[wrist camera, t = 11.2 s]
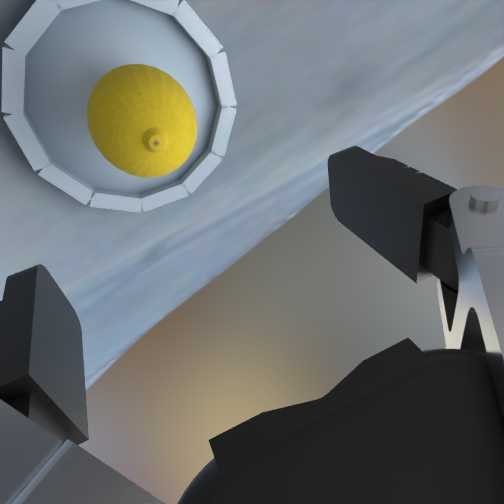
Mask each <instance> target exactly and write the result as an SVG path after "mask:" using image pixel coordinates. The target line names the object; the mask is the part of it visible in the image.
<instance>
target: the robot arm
mask: <svg viewBox="0 0 504 504" xmlns="http://www.w3.org/2000/svg"><path fill="white" fill-rule="evenodd" d="M328 174H329V186H330V199H331V207H332V210H333V212H334V214H335V216H336V218H337V219H338V221H339V222H341V223H342V224H343V225H344V226H345V227H347V228H348V229H349V230H351V231H352V232H353V233H354V234H355V235H357V236H358V237H359V238H360V239H362V240H363V241H364V242H365V243H367V244H368V245H369V246H370V247H372V248H373V249H374V250H375V251H377V252H378V253H379V254H380V255H382V256H383V257H384V258H385V259H387V260H388V261H389V262H390V263H392V264H393V265H394V266H395V267H397V268H398V269H399V270H400V271H402V272H403V273H404V274H405V275H407V276H408V277H409V278H411V279H412V280H413V281H414V282H416V283H419V282H421V281H423V280H425V279H427V278H429V277H431V276H433V275H434V276H436V277H437V278H438V284H437V291H438V297H439V304H440V310H441V317H442V322H443V329H444V336H445V343H446V349H432V350H424V351H421V350H420V349H419V348H418V347H417V346H416V345H415V344H414V343H413V342H412V341H411V340H410V339H409V338H407V339H405V340H403V341H401V342H399V343H397V344H395V345H393V346H391V347H389V348H387V349H385V350H383V351H381V352H380V353H378V354H376V355H374V356H372V357H370V358H368V359H366V360H364V361H363V362H361V363H360V364H359V365H358V366H357V367H356V368H355V369H354V370H353V371H352V372H351V373H349V375H347V376H346V377H345V378H344V379H343V380H342V381H341V382H340V383H339V384H338V385H336V386H335V387H334V388H333V389H332V390H331V391H330V392H329V393H328V394H327V395H325V396H324V397H322V398H320V399H317V400H313V401H309V402H305V403H301V404H296V405H292V406H288V407H284V408H279V409H275V410H271V411H267V412H263V413H260V414H259V415H257V416H255V417H253V418H251V419H249V420H247V421H245V422H243V423H241V424H239V425H237V426H235V427H233V428H232V429H229V430H227V431H225V432H223V433H222V434H220V435H218V436H216V437H214V438H212V439H210V440H209V442H210V446H211V448H212V451H213V454H214V457H215V458H214V459H213V460H211V461H210V462H209V463H208V464H207V465H206V466H205V467H204V468H203V469H202V470H201V472H199V474H198V475H197V476H196V477H195V478H194V479H193V481H192V482H191V483H190V485H189V486H188V488H187V489H186V490H185V492H184V493H183V495H182V497H181V498H180V500H179V502H178V504H504V188H501V187H496V186H491V185H472V186H467V187H463V188H460V189H458V190H457V189H455V188H453V187H451V186H449V185H447V184H444V183H443V182H441V181H439V180H437V179H434V178H432V177H430V176H428V175H426V174H424V173H420V172H419V171H418V170H416V169H414V168H411V167H410V168H408V166H407V165H405V164H403V163H401V162H399V161H397V160H395V159H391V158H386V157H380V156H376V155H374V154H372V153H370V152H368V151H366V150H364V149H362V148H360V147H357V146H353V147H350V148H348V149H345V150H342V151H340V152H337V153H334V154H332V155H330V157H329V159H328ZM87 440H89V437H88V422H87V407H86V392H85V376H84V361H83V346H82V331H81V325H80V322H79V319H78V317H77V314H76V312H75V310H74V309H73V307H72V306H71V304H70V303H69V301H68V300H67V298H66V297H65V295H64V294H63V292H62V291H61V289H60V288H59V286H58V285H57V283H56V282H55V281H54V279H53V278H52V276H51V275H50V273H49V272H48V270H47V269H46V268H45V267H44V266H43V265H41V264H39V265H36V266H34V267H31V268H29V269H26V270H23V271H21V272H18V273H15V274H13V275H10V276H8V277H7V279H6V284H5V289H4V295H3V300H2V301H0V504H165V503H163V502H162V501H160V500H159V499H157V498H156V497H155V496H153V495H151V494H150V493H149V492H147V491H145V490H144V489H143V488H141V487H139V486H138V485H136V484H135V483H133V482H132V481H130V480H129V479H127V478H126V477H125V476H123V475H122V474H120V473H118V472H117V471H115V470H114V469H113V468H111V467H110V466H108V465H107V464H105V463H103V462H102V461H100V460H99V459H98V458H96V457H94V456H93V455H91V454H90V453H88V452H87V451H85V450H84V449H83V448H81V447H80V446H78V445H79V444H81V443H83V442H85V441H87Z"/></svg>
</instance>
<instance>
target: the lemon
mask: <svg viewBox="0 0 504 504" xmlns="http://www.w3.org/2000/svg"><path fill="white" fill-rule="evenodd" d="M87 122H88V128H89V132H90V134H91V137H92V139H93V141H94V144H95V146H96V147H97V148H98V150H99V151H100V152H101V154H102V155H103V156H104V158H105V159H106V160H108V161H109V162H110V163H111V164H113V165H114V166H115V167H116V168H118V169H120V170H122V171H124V172H126V173H128V174H130V175H134V176H138V177H143V178H153V177H159V176H163V175H167V174H169V173H171V172H172V171H174V170H176V169H178V168H179V167H180V166H181V165H182V164H183V163H184V162H185V161H186V160H187V158H188V157H189V155H190V154H191V152H192V150H193V147H194V145H195V142H196V136H197V120H196V113H195V110H194V107H193V105H192V102H191V99H190V97H189V96H188V94H187V93H186V91H185V90H184V89H183V87H182V86H181V84H180V83H178V82H177V81H176V80H175V79H174V78H173V77H172V76H170V75H169V74H168V73H166V72H164V71H162V70H160V69H158V68H156V67H153V66H149V65H144V64H126V65H123V66H120V67H117V68H114V69H112V70H111V71H109V72H108V73H106V74H105V75H103V76H102V77H101V78H100V80H99V81H98V82H97V84H96V85H95V86H94V87H93V90H92V92H91V95H90V97H89V100H88V106H87Z"/></svg>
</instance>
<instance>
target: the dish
mask: <svg viewBox="0 0 504 504" xmlns="http://www.w3.org/2000/svg"><path fill="white" fill-rule="evenodd" d="M4 42H5V43H6V45H5V46H3V47H2V108H1V112H4V113H5V114H4V116H3V118H4V120H5V122H6V123H7V125H8V127H9V129H10V130H11V132H12V134H13V135H14V137H15V139H16V141H17V142H18V144H19V146H20V147H21V149H22V151H23V153H24V154H25V156H26V158H27V159H28V161H29V163H30V165H31V166H32V168H33V170H34V171H36V170H39V171H38V175H39V176H41V177H42V178H44V179H45V180H47V181H49V182H50V183H52V184H53V185H55V186H56V187H58V188H59V189H61V190H63V191H64V192H66V193H67V194H69V195H70V196H72V197H74V198H75V199H77V200H78V201H80V202H81V203H83V204H85V205H86V204H87V203H88V202H90V207H97V208H106V209H115V210H123V211H132V212H141V206H142V207H143V210H144V212H146V211H148V210H151V209H154V208H156V207H159V206H162V205H165V204H167V203H170V202H173V201H175V200H178V199H181V198H184V197H186V196H188V194H187V191H186V190H188V191H189V192H190V193H191V194H192V192H193V191H194V190H195V189H196V188H197V187H198V186H199V185H200V184H201V183H202V181H203V180H204V179H205V178H206V177H207V176H208V175H209V174H210V173H211V172H212V171H213V169H214V168H215V167H216V166H217V165H218V164H219V163H220V162H221V161H222V159H221V158H220V157H219V156H218V155H221V156H224V155H225V151H226V148H227V144H228V140H229V136H230V132H231V129H232V125H233V121H234V117H235V113H236V110H237V109H236V108H234V107H232V106H234V105H237V104H236V99H235V94H234V90H233V85H232V81H231V76H230V71H229V67H228V62H227V57H226V53H225V51H222V50H221V49H222V47H223V46H222V45H221V44H220V43H219V41H218V40H217V39H216V38H215V36H214V35H213V34H212V33H211V32H210V30H209V29H208V28H207V27H206V25H205V24H204V23H203V22H202V21H201V19H200V18H199V17H198V16H197V15H196V13H195V12H194V11H193V10H192V8H191V7H190V6H189V5H188V4H187V2H186V1H185V0H36V1H35V3H34V4H33V5H32V7H31V8H30V9H29V10H28V12H27V13H26V14H25V16H24V17H23V18H22V19H21V21H20V22H19V23H18V25H17V26H16V27H15V28H14V30H13V31H12V32H11V34H10V35H9V36H8V38H7V39H6V40H5V41H4ZM126 64H144V65H149V66H153V67H156V68H158V69H160V70H162V71H164V72H166V73H168V74H169V75H170V76H172V77H173V78H174V79H175V80H176V81H177V82H178V83H180V84H181V86H182V87H183V89H184V90H185V91H186V93H187V94H188V96H189V97H190V99H191V102H192V105H193V107H194V110H195V113H196V120H197V136H196V142H195V145H194V147H193V150H192V152H191V154H190V155H189V157H188V158H187V160H186V161H185V162H184V163H183V164H182V165H181V166H180V167H179V168H178V169H176V170H174V171H172V172H171V173H169V174H167V175H163V176H159V177H153V178H143V177H138V176H134V175H130V174H128V173H126V172H124V171H122V170H120V169H118V168H116V167H115V166H114V165H113V164H111V163H110V162H109V161H108V160H106V159H105V158H104V156H103V155H102V154H101V152H100V151H99V150H98V148H97V147H96V146H95V144H94V141H93V139H92V137H91V134H90V132H89V128H88V122H87V106H88V100H89V97H90V95H91V92H92V90H93V87H94V86H95V85H96V84H97V82H98V81H99V80H100V78H101V77H102V76H103V75H105V74H106V73H108V72H109V71H111V70H112V69H114V68H117V67H120V66H123V65H126Z"/></svg>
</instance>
